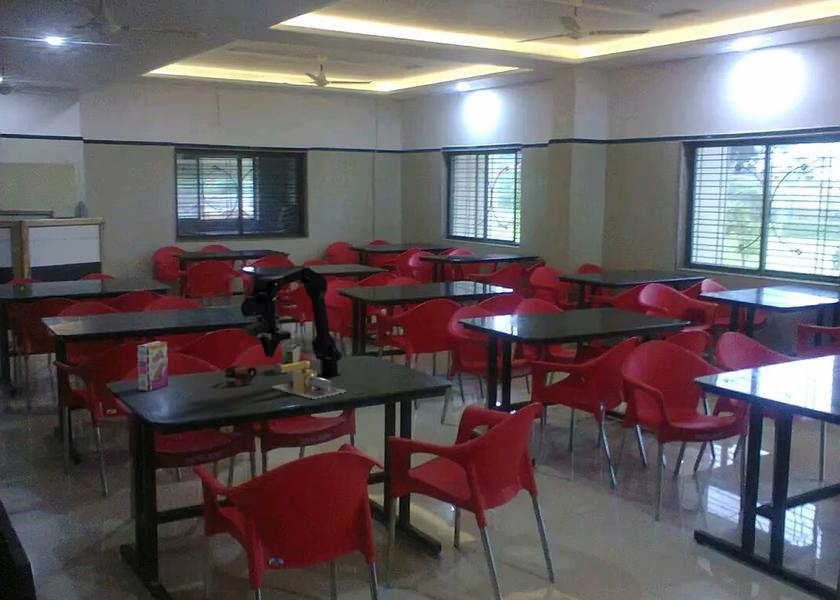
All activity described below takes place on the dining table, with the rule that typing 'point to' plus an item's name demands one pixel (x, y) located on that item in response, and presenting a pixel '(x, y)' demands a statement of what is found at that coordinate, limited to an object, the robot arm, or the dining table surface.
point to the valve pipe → (308, 384)
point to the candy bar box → (152, 365)
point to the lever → (291, 366)
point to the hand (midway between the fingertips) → (269, 357)
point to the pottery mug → (241, 374)
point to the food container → (291, 352)
